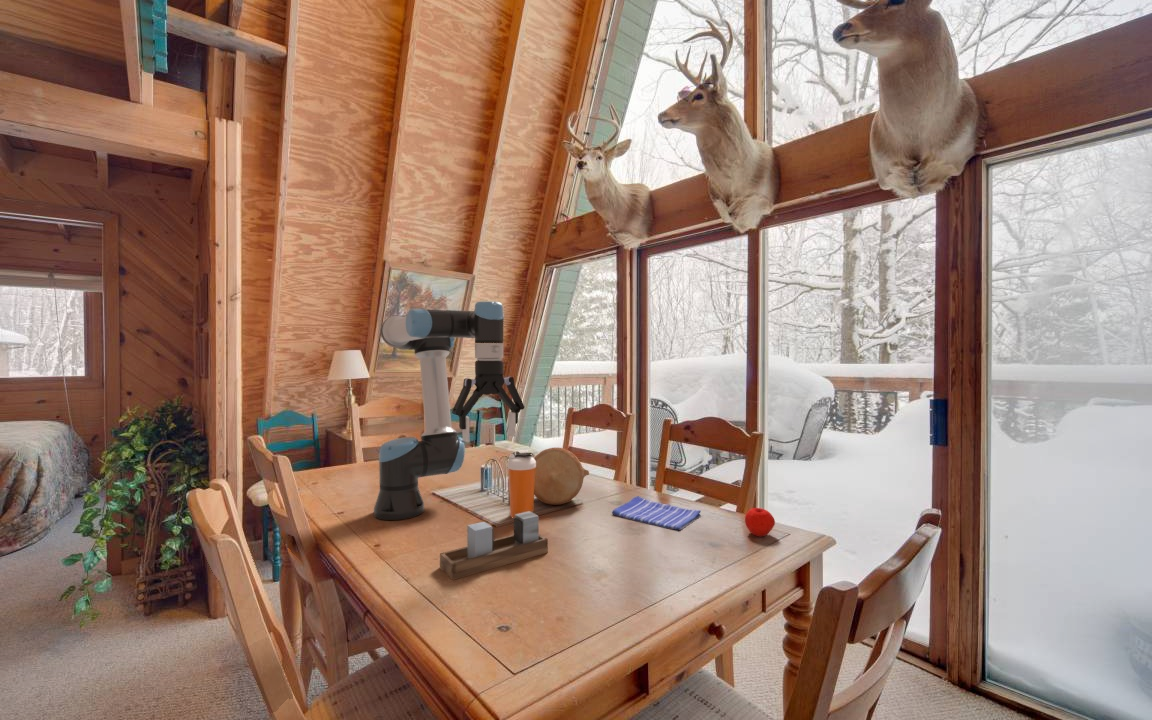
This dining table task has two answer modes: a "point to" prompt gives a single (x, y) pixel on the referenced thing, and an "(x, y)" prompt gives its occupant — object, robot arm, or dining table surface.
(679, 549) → the dining table surface
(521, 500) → the shaker bottle
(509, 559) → the rail
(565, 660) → the dining table surface
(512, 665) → the dining table surface
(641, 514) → the dish towel
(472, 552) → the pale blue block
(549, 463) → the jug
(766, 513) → the apple
